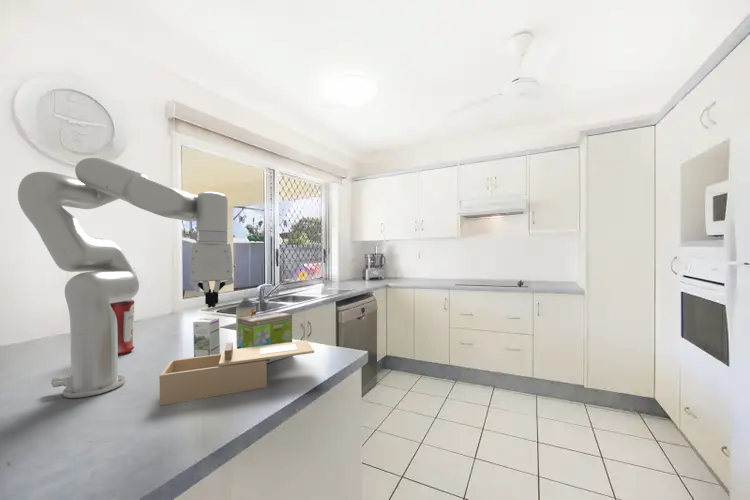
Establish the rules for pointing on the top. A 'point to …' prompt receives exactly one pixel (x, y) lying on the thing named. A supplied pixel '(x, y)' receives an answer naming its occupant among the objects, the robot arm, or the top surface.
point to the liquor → (124, 325)
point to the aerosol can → (244, 310)
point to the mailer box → (208, 378)
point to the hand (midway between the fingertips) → (211, 306)
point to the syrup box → (206, 337)
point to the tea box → (264, 330)
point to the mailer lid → (263, 352)
